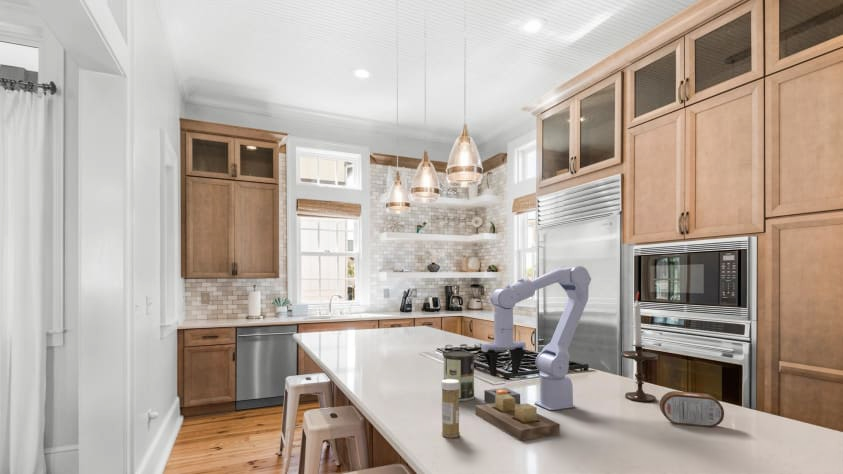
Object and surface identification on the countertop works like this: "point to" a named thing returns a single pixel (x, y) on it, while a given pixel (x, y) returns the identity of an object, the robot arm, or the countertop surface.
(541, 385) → the robot arm
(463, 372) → the coffee can
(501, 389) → the button
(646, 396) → the candlestick
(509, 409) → the loose billet
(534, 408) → the block
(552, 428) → the wooden socket board
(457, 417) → the sprinkles bottle
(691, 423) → the tin
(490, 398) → the button housing
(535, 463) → the countertop surface
